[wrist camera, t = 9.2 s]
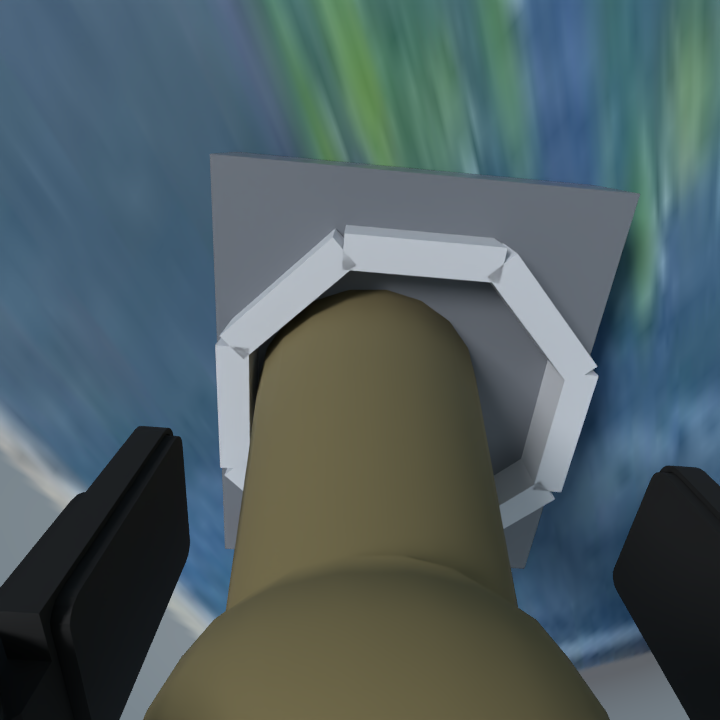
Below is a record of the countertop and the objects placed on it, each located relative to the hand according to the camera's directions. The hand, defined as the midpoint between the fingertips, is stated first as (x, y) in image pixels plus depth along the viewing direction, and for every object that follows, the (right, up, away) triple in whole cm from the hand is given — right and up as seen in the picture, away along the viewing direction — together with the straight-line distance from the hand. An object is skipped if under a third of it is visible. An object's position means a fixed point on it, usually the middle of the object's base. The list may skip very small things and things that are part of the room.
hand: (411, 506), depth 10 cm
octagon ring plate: (0, +3, +6) cm, 7 cm away
